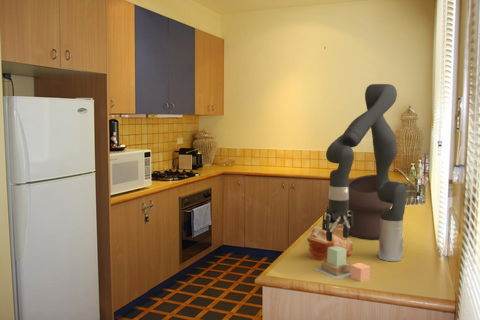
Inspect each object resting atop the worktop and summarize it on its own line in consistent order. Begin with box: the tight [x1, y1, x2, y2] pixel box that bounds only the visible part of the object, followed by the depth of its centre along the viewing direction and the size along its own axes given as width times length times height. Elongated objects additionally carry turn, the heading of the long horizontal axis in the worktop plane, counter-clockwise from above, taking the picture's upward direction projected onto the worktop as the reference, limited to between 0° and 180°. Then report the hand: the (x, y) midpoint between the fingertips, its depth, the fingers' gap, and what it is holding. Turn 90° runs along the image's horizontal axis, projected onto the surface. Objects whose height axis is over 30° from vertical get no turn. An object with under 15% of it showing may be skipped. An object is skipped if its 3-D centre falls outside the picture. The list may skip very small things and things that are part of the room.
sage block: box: [327, 246, 347, 267], centre depth 176 cm, size 5×5×6 cm
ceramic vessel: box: [306, 224, 354, 262], centre depth 196 cm, size 14×26×15 cm, turn 135°
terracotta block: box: [349, 262, 371, 283], centre depth 169 cm, size 5×5×6 cm
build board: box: [313, 267, 350, 280], centre depth 177 cm, size 12×12×1 cm
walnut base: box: [320, 261, 352, 276], centre depth 177 cm, size 8×8×3 cm
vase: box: [346, 174, 393, 240], centre depth 234 cm, size 27×27×30 cm
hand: (337, 239), depth 176 cm, fingers open, 8 cm apart
